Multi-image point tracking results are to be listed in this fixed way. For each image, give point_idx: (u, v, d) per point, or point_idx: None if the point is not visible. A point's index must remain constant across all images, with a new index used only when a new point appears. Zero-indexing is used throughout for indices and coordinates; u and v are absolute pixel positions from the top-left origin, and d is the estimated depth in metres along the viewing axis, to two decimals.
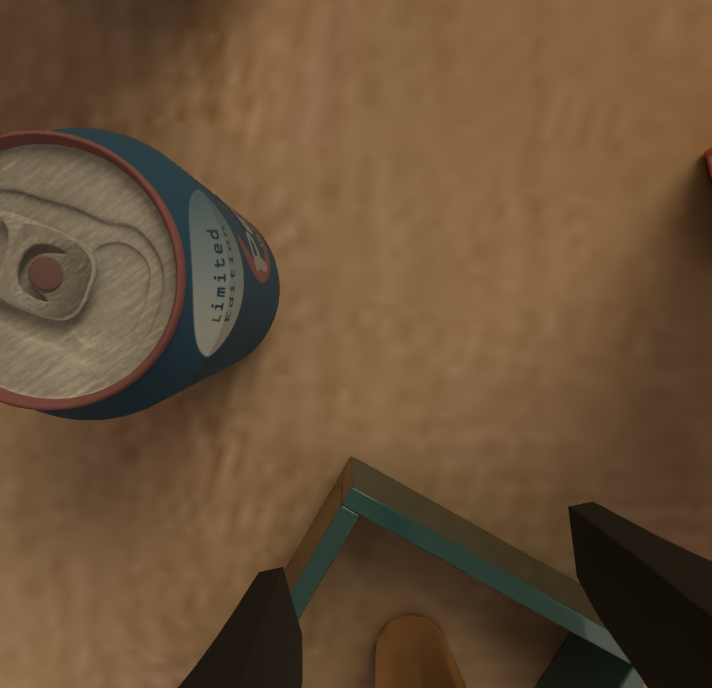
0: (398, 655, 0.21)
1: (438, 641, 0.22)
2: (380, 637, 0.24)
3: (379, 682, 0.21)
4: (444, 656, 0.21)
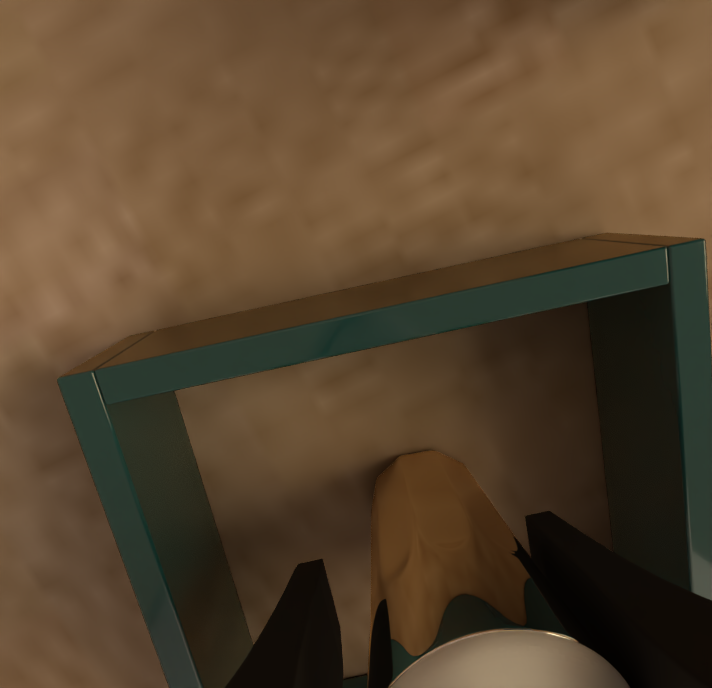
0: (466, 494, 0.13)
1: None
2: (412, 456, 0.16)
3: (424, 502, 0.13)
4: None
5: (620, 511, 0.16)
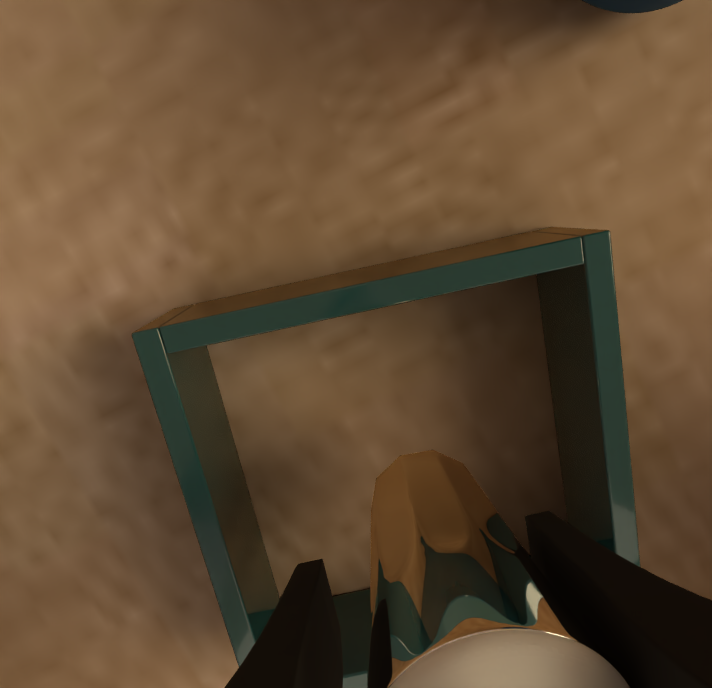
0: (466, 494, 0.13)
1: None
2: (412, 456, 0.16)
3: (424, 502, 0.13)
4: None
5: (565, 451, 0.20)
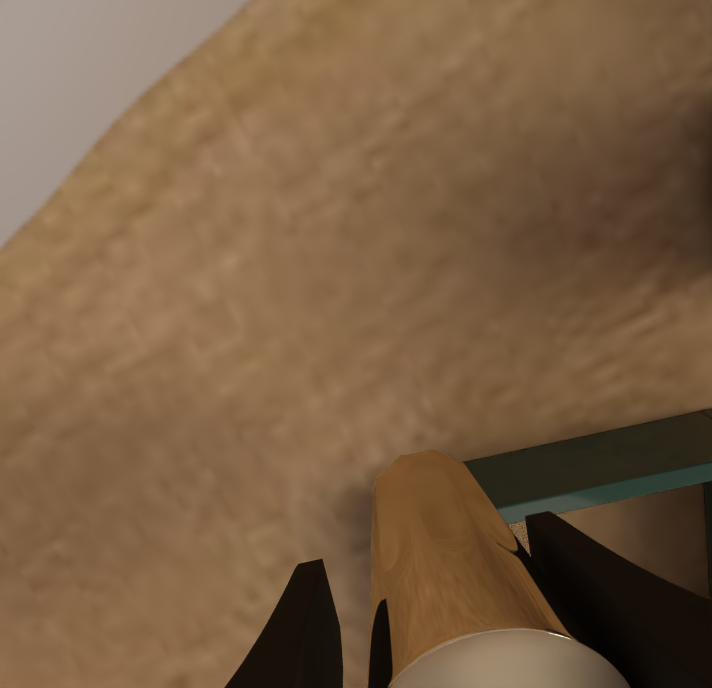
0: (466, 493, 0.13)
1: None
2: (413, 456, 0.16)
3: (424, 502, 0.13)
4: None
5: None
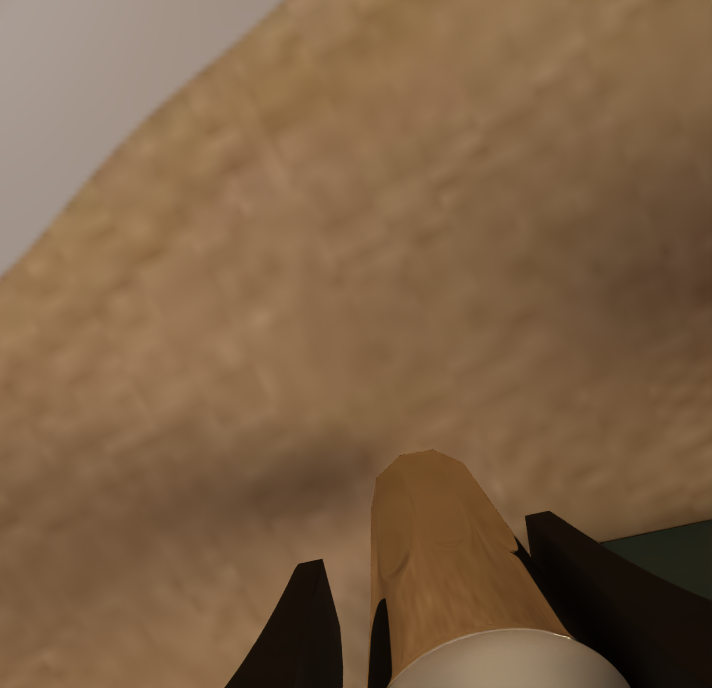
0: (466, 494, 0.13)
1: None
2: (412, 456, 0.16)
3: (424, 502, 0.13)
4: None
5: None
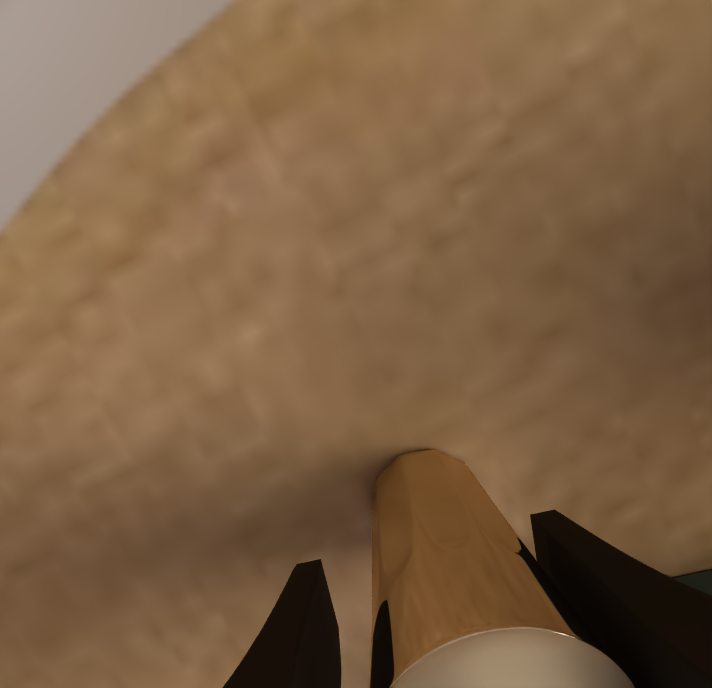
0: (467, 493, 0.13)
1: None
2: (413, 456, 0.15)
3: (425, 501, 0.13)
4: None
5: None
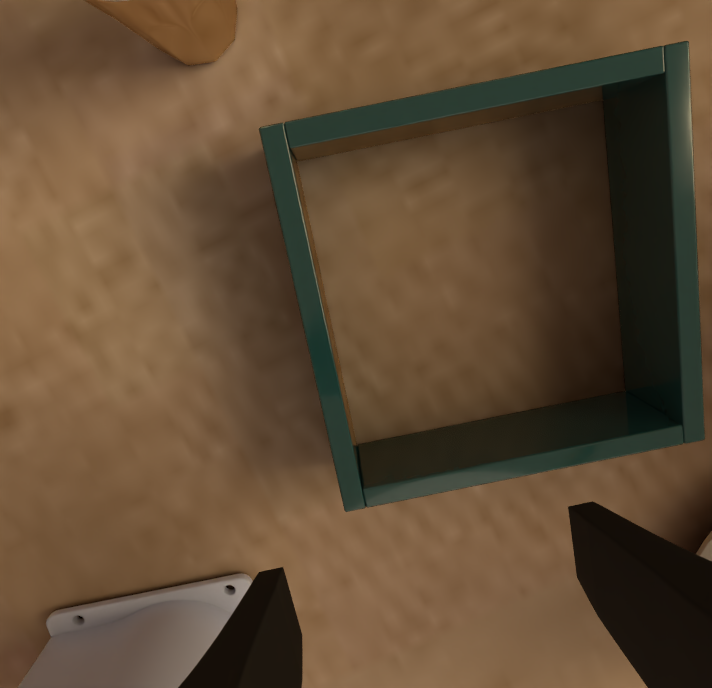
0: None
1: None
2: None
3: None
4: None
5: (627, 288, 0.21)
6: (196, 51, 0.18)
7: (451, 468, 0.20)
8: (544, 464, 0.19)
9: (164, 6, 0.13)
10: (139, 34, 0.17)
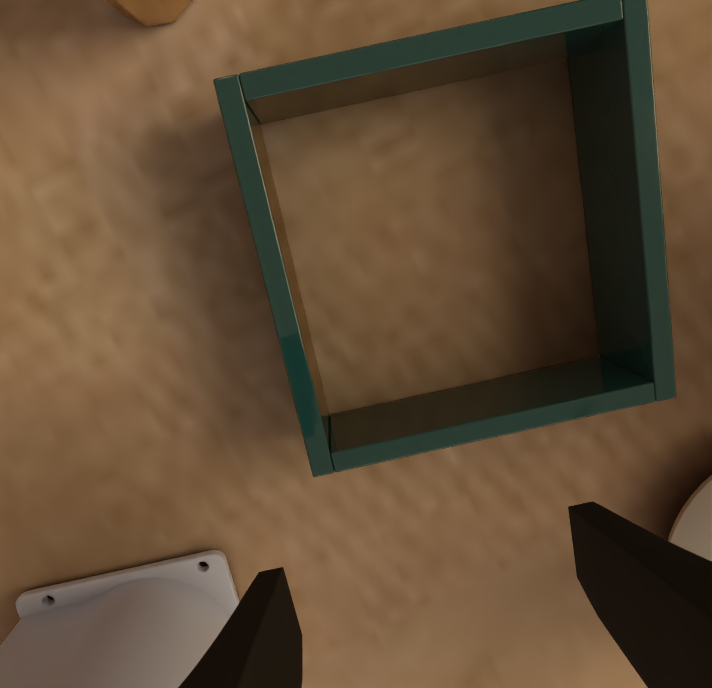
0: None
1: None
2: None
3: None
4: None
5: (597, 249, 0.21)
6: (151, 7, 0.17)
7: (420, 431, 0.19)
8: (514, 424, 0.19)
9: None
10: None
